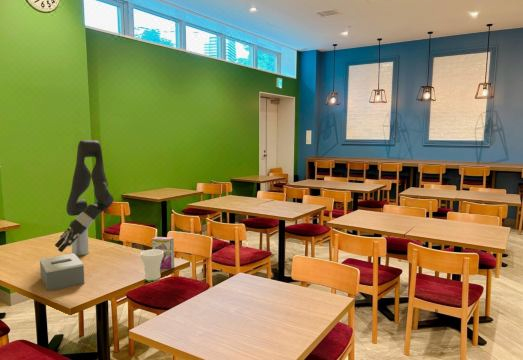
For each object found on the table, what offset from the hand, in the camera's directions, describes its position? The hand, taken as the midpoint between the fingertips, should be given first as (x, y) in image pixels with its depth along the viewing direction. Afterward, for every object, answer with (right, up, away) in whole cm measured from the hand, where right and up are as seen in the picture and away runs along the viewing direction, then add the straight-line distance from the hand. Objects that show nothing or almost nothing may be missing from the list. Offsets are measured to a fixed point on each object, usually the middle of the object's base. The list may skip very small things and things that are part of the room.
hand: (57, 248), depth 188 cm
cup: (+45, -17, +5) cm, 49 cm away
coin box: (+1, -16, +3) cm, 17 cm away
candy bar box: (+46, -14, +24) cm, 54 cm away
